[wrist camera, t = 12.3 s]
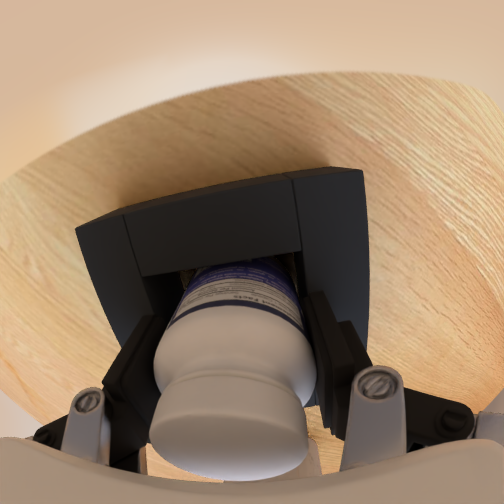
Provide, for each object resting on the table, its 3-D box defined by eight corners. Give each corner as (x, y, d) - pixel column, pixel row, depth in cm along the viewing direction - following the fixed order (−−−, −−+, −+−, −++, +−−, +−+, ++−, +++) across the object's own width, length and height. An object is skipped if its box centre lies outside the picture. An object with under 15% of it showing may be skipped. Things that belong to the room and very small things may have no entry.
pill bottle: (271, 346, 15) (280, 494, 6) (181, 318, 14) (124, 460, 6) (312, 263, 13) (379, 414, 5) (207, 227, 12) (123, 357, 4)
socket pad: (331, 166, 12) (363, 169, 8) (343, 350, 16) (361, 395, 12) (117, 209, 13) (73, 228, 9) (176, 371, 16) (161, 416, 13)
